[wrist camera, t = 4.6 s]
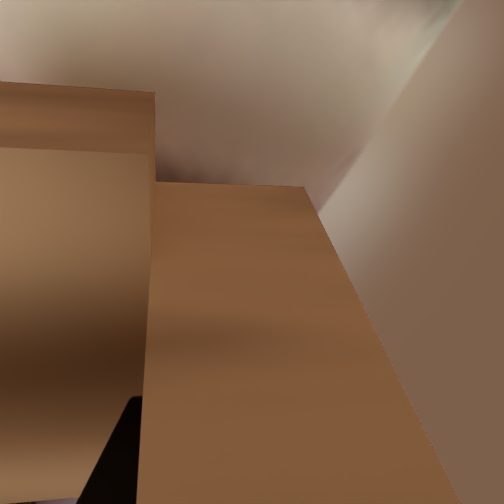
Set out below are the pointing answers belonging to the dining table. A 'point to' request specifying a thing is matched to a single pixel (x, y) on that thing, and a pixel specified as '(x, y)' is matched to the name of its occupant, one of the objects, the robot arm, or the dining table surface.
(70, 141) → the stepped wooden corner piece
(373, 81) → the dining table surface
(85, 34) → the dining table surface
